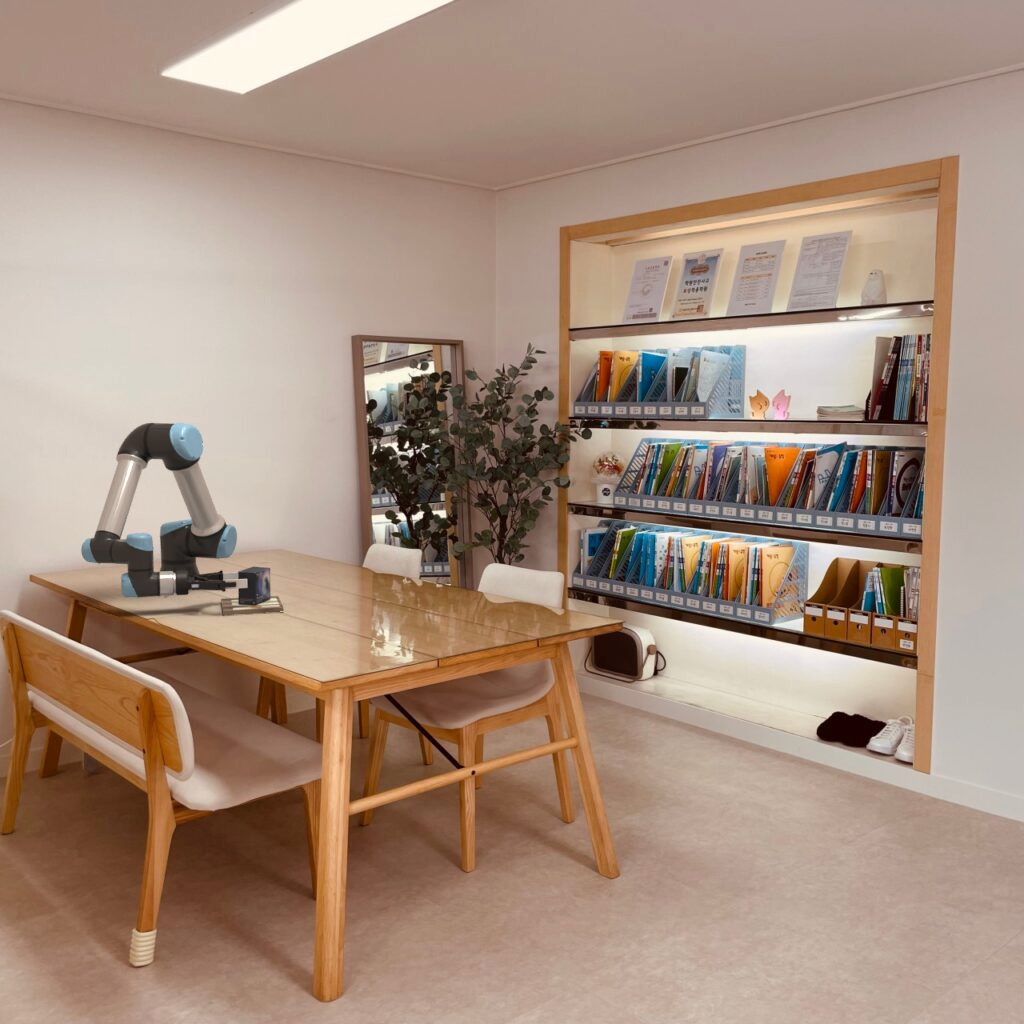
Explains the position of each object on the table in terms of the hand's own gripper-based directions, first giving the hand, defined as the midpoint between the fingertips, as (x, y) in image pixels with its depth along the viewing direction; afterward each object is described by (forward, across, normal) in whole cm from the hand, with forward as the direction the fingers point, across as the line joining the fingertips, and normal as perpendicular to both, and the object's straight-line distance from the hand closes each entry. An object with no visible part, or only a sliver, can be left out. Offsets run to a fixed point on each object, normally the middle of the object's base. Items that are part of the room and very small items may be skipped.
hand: (245, 579), depth 329 cm
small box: (+3, 0, -8) cm, 8 cm away
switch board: (+2, 0, -9) cm, 9 cm away
